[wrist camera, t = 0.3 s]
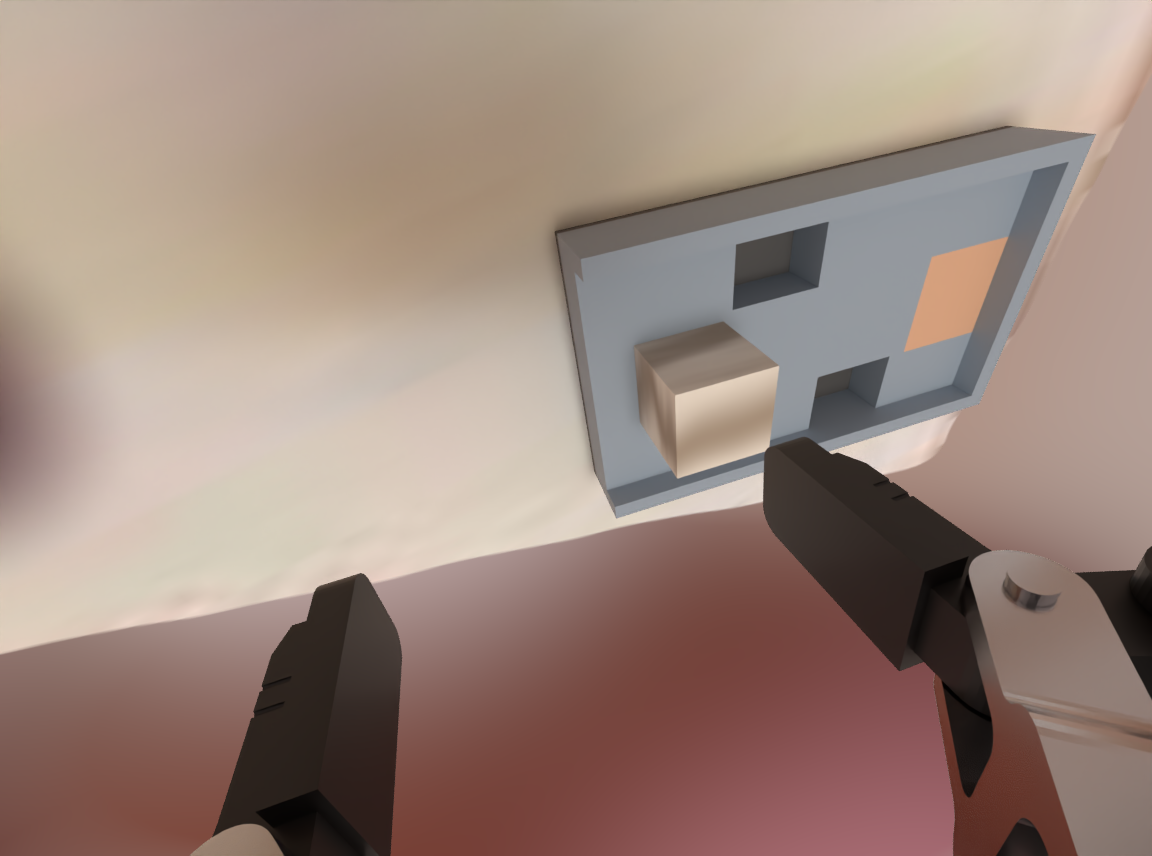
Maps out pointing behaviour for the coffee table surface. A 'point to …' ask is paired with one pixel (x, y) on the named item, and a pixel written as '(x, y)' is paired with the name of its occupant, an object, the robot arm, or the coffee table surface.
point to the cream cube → (705, 397)
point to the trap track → (820, 293)
